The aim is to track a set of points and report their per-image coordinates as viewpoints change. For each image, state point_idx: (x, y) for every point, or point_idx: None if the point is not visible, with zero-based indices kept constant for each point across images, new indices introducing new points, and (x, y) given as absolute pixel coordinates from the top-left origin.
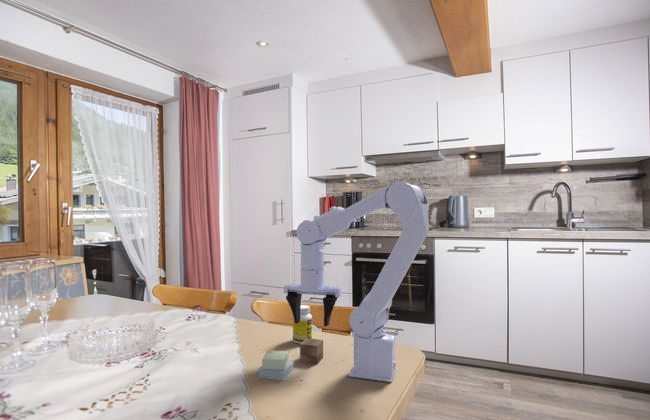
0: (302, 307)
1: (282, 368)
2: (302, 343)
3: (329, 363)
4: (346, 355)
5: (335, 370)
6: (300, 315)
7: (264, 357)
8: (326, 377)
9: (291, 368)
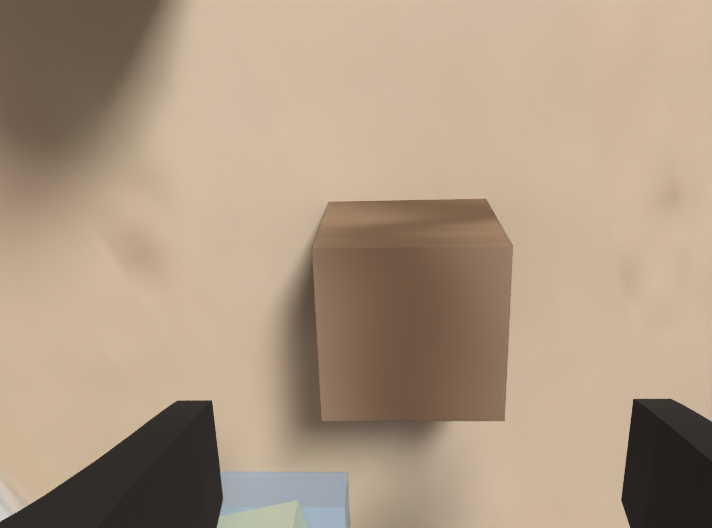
0: None
1: None
2: (337, 401)
3: (569, 298)
4: (690, 78)
5: None
6: (184, 430)
7: None
8: (600, 509)
9: (347, 518)
